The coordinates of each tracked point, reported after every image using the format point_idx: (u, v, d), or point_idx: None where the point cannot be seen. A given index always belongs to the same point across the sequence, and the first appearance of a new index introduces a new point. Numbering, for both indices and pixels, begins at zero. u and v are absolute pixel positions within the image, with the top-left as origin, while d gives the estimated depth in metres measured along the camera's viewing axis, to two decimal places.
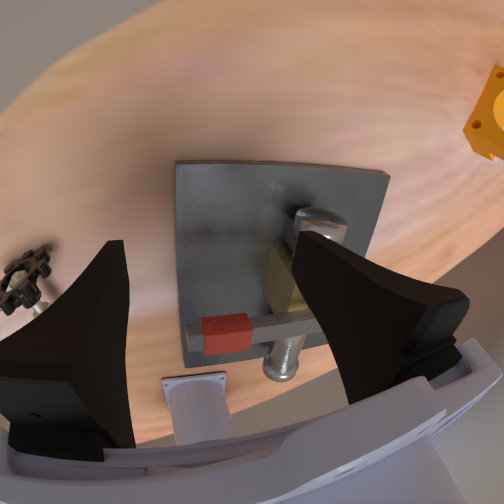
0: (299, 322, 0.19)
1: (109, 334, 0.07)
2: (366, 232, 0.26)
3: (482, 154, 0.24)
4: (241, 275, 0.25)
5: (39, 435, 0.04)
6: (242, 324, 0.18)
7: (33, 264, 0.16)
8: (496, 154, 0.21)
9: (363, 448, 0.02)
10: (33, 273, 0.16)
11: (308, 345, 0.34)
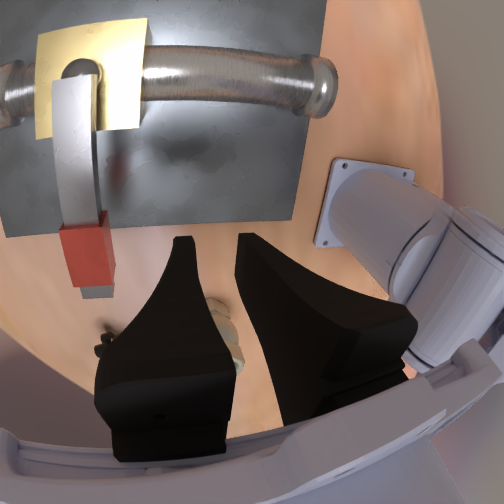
0: (55, 148, 0.08)
1: None
2: None
3: None
4: (113, 150, 0.15)
5: (152, 439, 0.05)
6: None
7: None
8: None
9: (363, 448, 0.02)
10: None
11: (315, 22, 0.14)
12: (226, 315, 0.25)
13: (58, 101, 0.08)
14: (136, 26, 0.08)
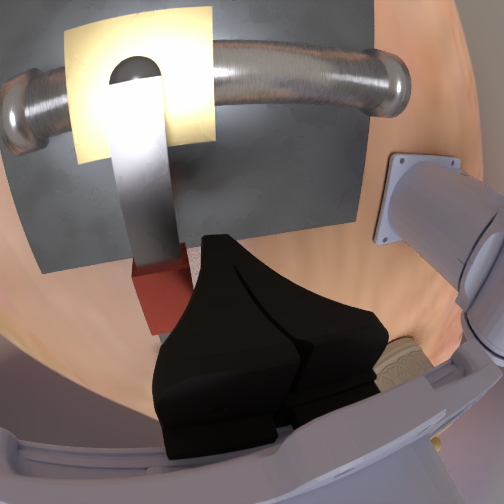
0: (117, 176, 0.07)
1: None
2: None
3: None
4: None
5: (205, 433, 0.05)
6: None
7: None
8: None
9: (363, 448, 0.02)
10: None
11: (366, 12, 0.12)
12: None
13: (114, 113, 0.06)
14: (199, 15, 0.07)
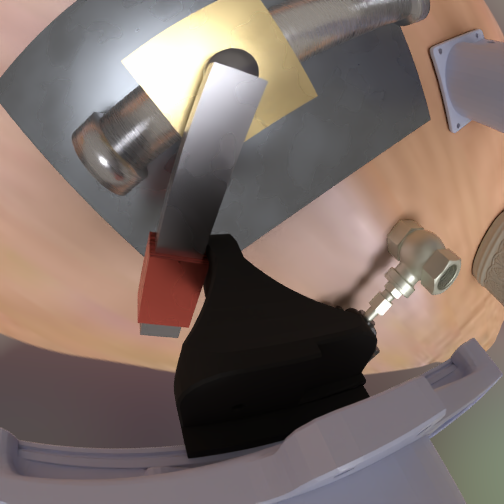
0: (185, 151, 0.08)
1: None
2: (75, 17, 0.08)
3: None
4: (261, 139, 0.15)
5: (225, 430, 0.05)
6: (146, 259, 0.09)
7: None
8: None
9: (363, 448, 0.02)
10: None
11: None
12: (420, 228, 0.22)
13: (213, 92, 0.07)
14: None
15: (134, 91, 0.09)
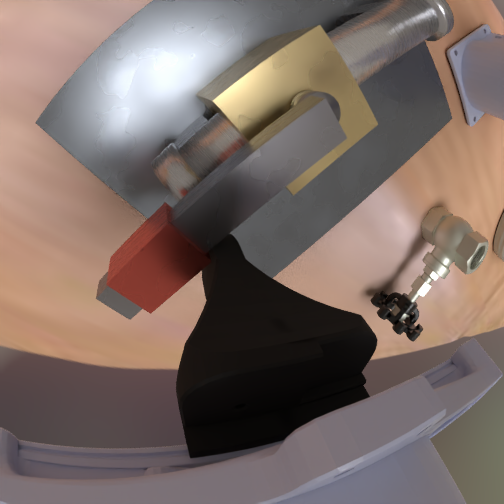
0: (259, 151, 0.08)
1: None
2: (124, 44, 0.10)
3: None
4: None
5: (227, 430, 0.05)
6: (154, 226, 0.09)
7: None
8: None
9: (363, 448, 0.02)
10: (388, 318, 0.24)
11: None
12: (449, 214, 0.23)
13: (309, 120, 0.08)
14: (317, 36, 0.08)
15: (213, 124, 0.11)
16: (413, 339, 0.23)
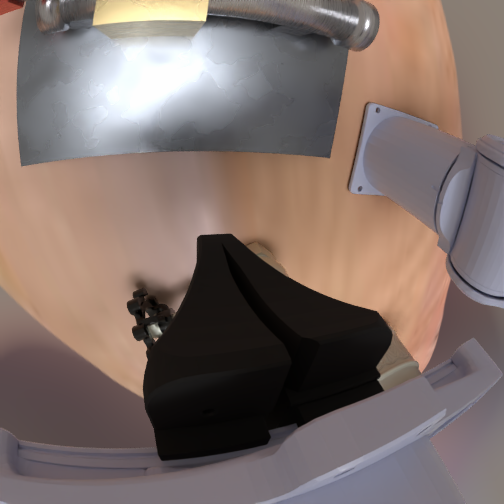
0: None
1: None
2: None
3: None
4: (157, 68, 0.14)
5: (198, 435, 0.05)
6: None
7: None
8: None
9: (363, 448, 0.02)
10: (136, 317, 0.20)
11: None
12: None
13: None
14: None
15: None
16: None
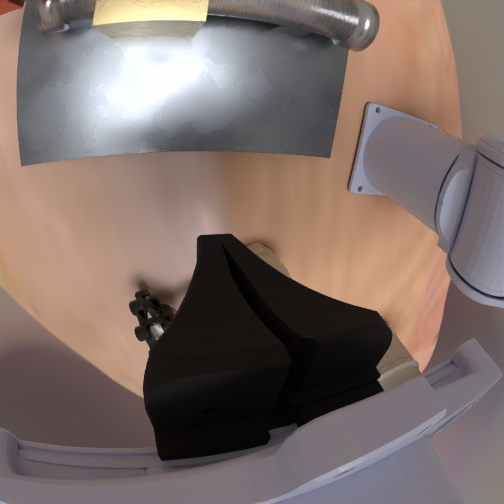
0: None
1: None
2: None
3: None
4: (157, 68, 0.14)
5: (198, 435, 0.05)
6: None
7: None
8: None
9: (363, 448, 0.02)
10: (138, 317, 0.20)
11: None
12: (275, 259, 0.24)
13: None
14: None
15: None
16: None
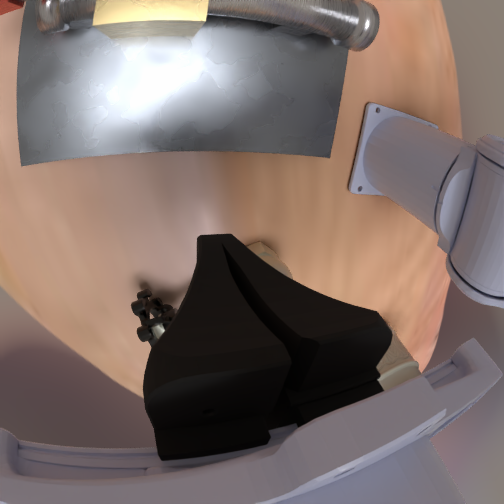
0: None
1: None
2: None
3: None
4: (157, 68, 0.14)
5: (198, 435, 0.05)
6: None
7: None
8: None
9: (363, 448, 0.02)
10: (140, 318, 0.20)
11: None
12: (276, 258, 0.24)
13: None
14: None
15: None
16: None
